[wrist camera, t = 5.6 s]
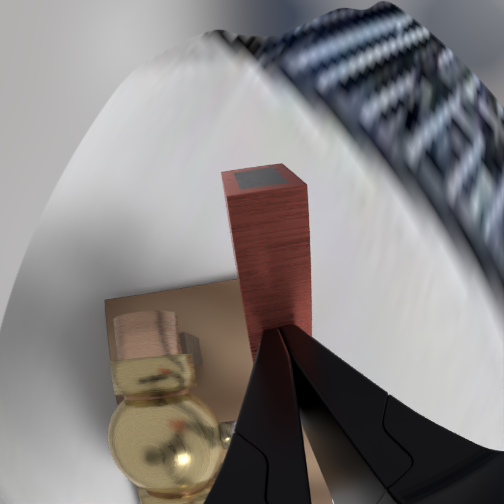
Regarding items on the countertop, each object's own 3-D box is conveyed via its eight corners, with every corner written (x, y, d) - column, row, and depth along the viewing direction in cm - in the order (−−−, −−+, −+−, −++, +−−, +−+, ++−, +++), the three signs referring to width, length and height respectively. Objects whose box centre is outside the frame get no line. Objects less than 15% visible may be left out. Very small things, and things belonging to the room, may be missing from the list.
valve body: (271, 487, 15) (285, 559, 8) (169, 497, 15) (127, 563, 7) (238, 319, 19) (231, 291, 11) (136, 334, 18) (67, 315, 11)
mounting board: (328, 498, 16) (332, 504, 15) (154, 519, 15) (150, 526, 14) (286, 274, 21) (288, 270, 20) (111, 303, 20) (104, 299, 19)
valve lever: (308, 453, 11) (306, 184, 6) (270, 461, 11) (226, 195, 6) (296, 414, 13) (281, 163, 8) (262, 421, 13) (221, 172, 8)
